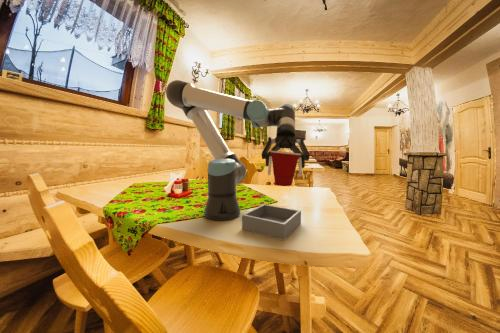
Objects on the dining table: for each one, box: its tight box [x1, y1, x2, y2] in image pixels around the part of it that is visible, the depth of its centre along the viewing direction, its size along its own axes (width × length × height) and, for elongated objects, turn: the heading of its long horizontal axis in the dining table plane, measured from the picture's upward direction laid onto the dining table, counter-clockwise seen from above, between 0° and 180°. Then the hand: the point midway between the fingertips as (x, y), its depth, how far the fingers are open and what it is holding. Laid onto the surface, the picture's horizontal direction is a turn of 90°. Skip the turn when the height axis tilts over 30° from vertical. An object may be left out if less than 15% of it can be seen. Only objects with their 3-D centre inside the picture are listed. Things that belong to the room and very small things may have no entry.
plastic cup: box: [269, 150, 301, 187], centre depth 66 cm, size 11×11×12 cm
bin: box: [241, 203, 302, 241], centre depth 67 cm, size 16×16×5 cm
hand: (284, 173), depth 63 cm, fingers closed on plastic cup, 10 cm apart
